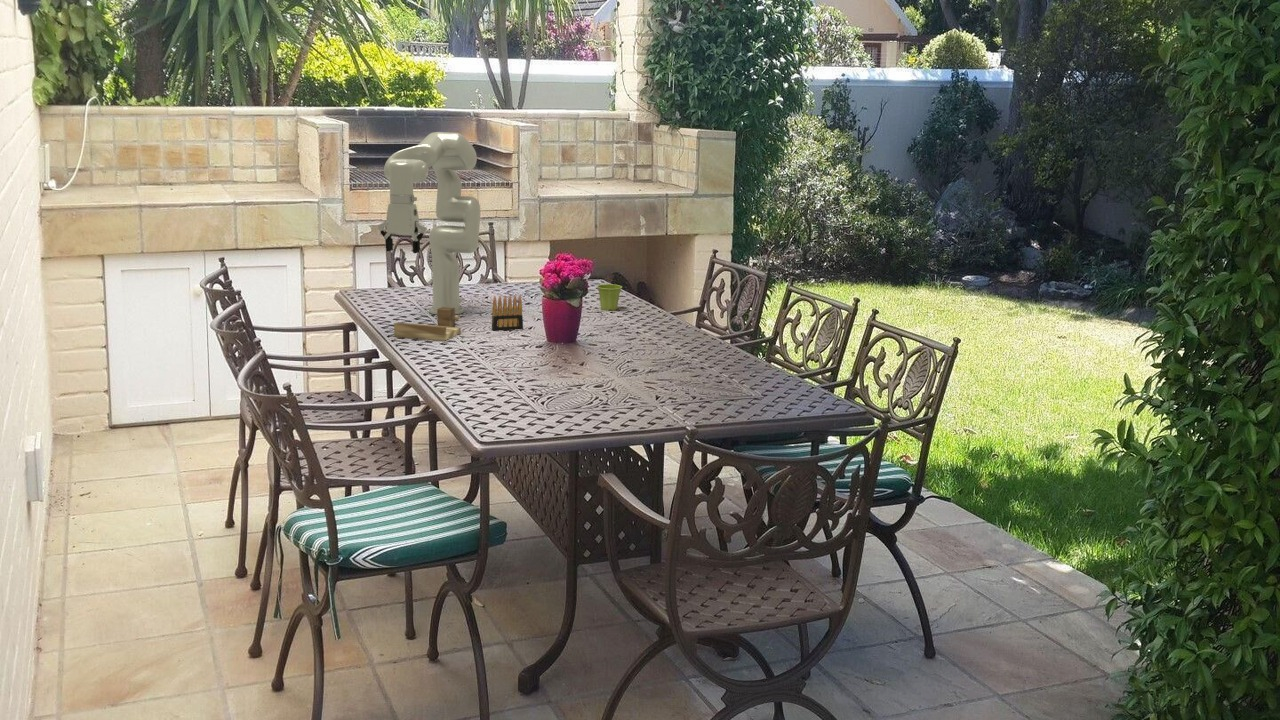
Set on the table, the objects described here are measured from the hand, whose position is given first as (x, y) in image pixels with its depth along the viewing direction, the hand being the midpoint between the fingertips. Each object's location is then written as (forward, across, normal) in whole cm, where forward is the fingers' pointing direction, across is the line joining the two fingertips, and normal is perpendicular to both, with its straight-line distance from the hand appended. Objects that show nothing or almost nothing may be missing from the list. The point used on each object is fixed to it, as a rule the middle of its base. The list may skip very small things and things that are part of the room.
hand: (402, 251), depth 420 cm
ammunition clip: (+28, -28, -20) cm, 45 cm away
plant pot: (+28, -48, -70) cm, 90 cm away
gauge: (+28, -8, -18) cm, 34 cm away
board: (+28, -8, -2) cm, 29 cm away
